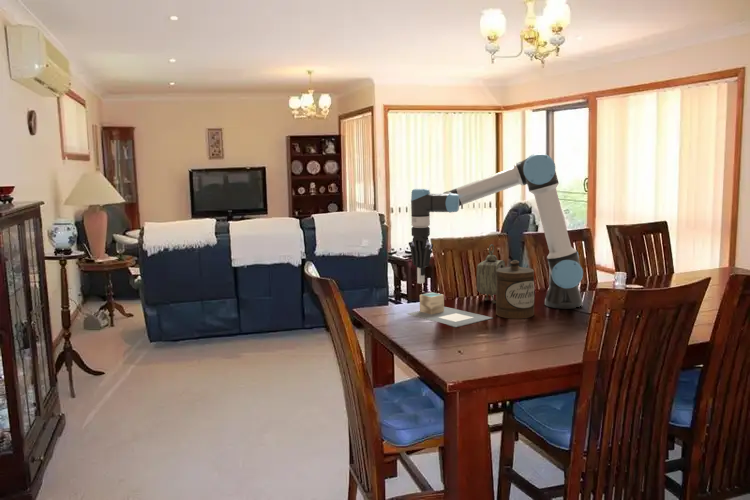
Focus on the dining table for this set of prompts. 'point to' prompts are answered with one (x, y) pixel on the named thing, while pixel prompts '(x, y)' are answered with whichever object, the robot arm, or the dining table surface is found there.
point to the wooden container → (515, 291)
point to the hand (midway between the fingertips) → (421, 282)
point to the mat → (452, 317)
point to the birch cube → (431, 303)
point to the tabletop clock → (488, 274)
